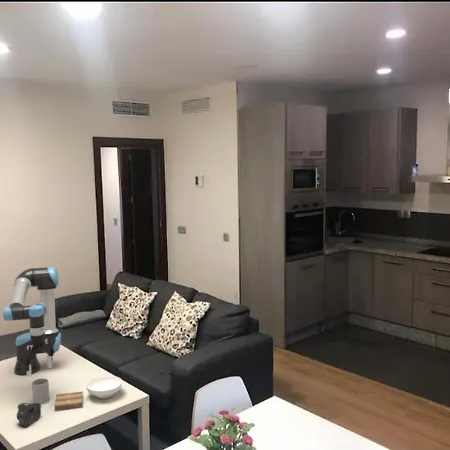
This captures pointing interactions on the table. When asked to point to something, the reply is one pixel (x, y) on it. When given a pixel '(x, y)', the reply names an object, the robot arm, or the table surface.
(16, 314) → the robot arm
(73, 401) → the trivet
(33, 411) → the camera
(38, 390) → the mug
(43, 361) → the table surface
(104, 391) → the bowl
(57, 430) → the table surface
